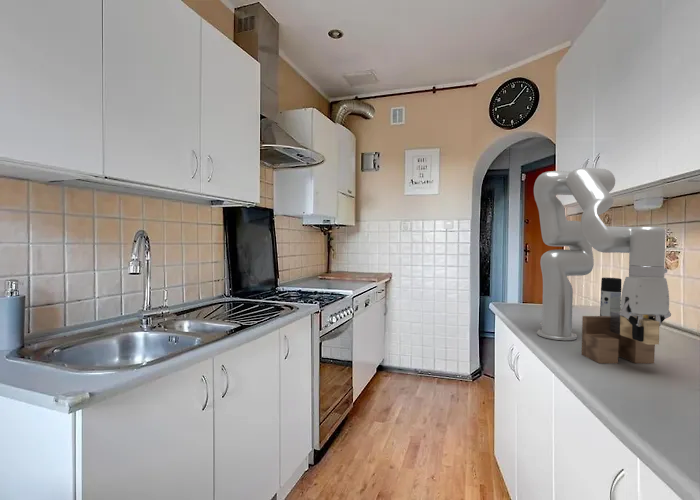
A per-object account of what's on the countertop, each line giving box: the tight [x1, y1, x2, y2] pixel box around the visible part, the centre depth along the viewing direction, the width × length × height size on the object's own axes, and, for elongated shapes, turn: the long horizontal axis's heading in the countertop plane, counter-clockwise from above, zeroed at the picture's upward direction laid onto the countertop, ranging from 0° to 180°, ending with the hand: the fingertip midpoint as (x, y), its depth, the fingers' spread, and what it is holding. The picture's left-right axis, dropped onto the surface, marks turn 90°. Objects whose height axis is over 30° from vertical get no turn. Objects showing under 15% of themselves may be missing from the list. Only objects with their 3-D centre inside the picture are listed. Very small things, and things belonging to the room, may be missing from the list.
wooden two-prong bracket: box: [581, 315, 656, 364], centre depth 111 cm, size 8×16×12 cm, turn 90°
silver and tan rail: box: [610, 312, 660, 345], centre depth 105 cm, size 14×3×6 cm, turn 0°
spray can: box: [599, 277, 623, 316], centre depth 148 cm, size 7×7×20 cm
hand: (644, 339), depth 101 cm, fingers closed on silver and tan rail, 3 cm apart
